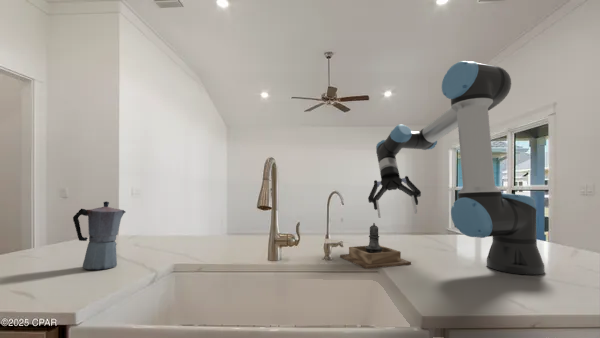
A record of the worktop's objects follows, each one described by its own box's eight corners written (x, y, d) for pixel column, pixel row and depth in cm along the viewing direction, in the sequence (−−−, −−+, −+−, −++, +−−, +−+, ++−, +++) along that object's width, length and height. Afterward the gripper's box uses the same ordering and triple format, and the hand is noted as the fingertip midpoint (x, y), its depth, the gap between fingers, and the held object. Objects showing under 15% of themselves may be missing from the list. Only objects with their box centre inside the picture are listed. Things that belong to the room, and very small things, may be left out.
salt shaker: (383, 260, 108) (383, 224, 108) (365, 259, 109) (365, 223, 109) (382, 256, 113) (382, 222, 114) (365, 255, 115) (365, 221, 115)
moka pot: (132, 263, 104) (134, 201, 105) (83, 276, 90) (85, 203, 91) (112, 260, 108) (114, 200, 109) (62, 271, 94) (65, 202, 95)
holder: (411, 264, 106) (410, 252, 106) (366, 268, 100) (366, 256, 100) (380, 253, 122) (380, 243, 122) (340, 257, 116) (340, 246, 116)
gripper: (419, 172, 138) (431, 215, 124) (360, 180, 143) (365, 222, 130) (419, 160, 132) (432, 204, 119) (358, 169, 138) (363, 212, 124)
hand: (397, 213), depth 124 cm, fingers open, 13 cm apart
